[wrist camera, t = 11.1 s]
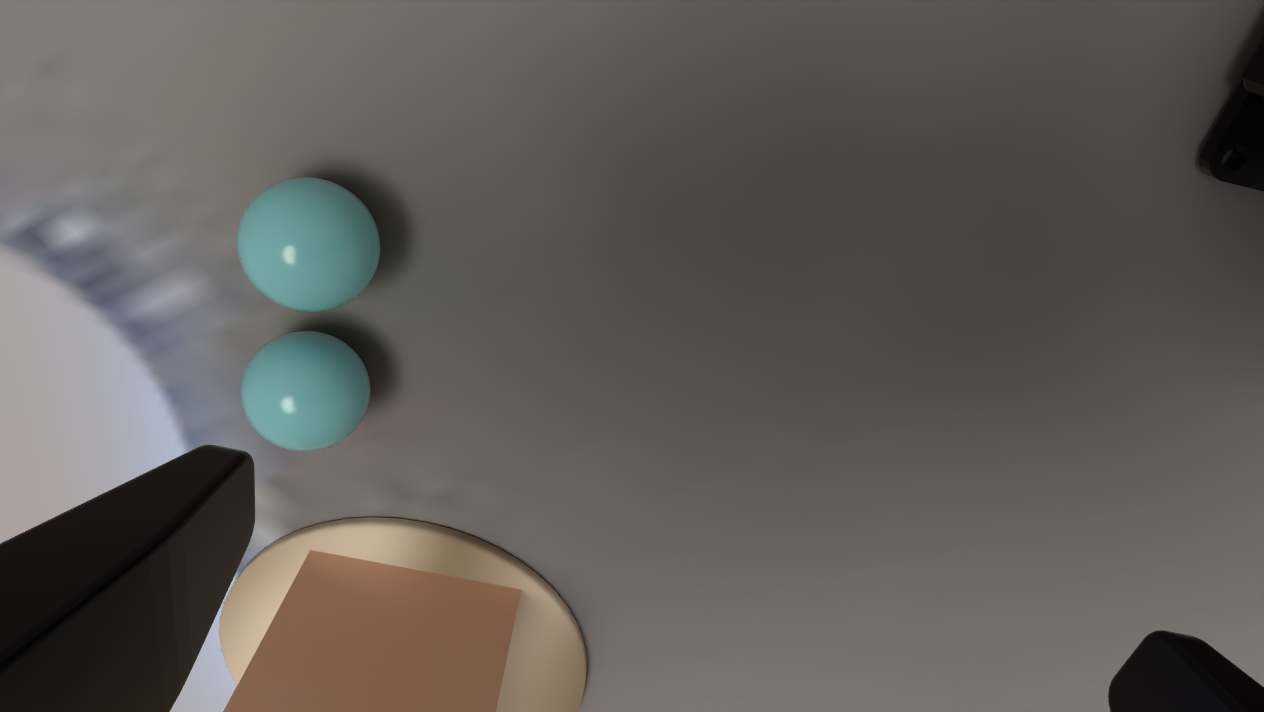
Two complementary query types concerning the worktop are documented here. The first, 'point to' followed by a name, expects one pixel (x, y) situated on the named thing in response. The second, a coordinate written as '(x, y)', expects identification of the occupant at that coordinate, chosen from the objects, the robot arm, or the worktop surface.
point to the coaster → (544, 626)
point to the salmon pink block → (380, 642)
